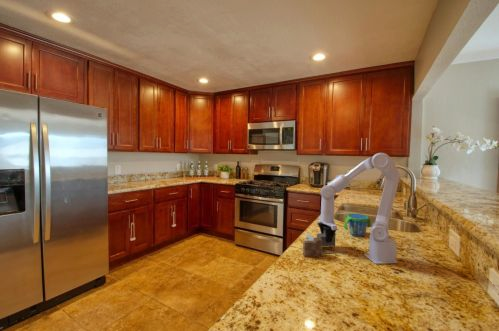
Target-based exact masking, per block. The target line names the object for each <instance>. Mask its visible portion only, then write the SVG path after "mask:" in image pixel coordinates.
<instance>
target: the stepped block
mask: <svg viewBox="0 0 499 331" xmlns="http://www.w3.org/2000/svg"><path fill="white" fill-rule="evenodd" d="M316 238H320V239H321V240H322V247H335V246H336V232H335V233H334V235H333V238H332V242H326V235H325V230H323V234H321V233H317V234H316Z"/></svg>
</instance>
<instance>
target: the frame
mask: <svg viewBox="0 0 499 331" xmlns="http://www.w3.org/2000/svg"><path fill="white" fill-rule="evenodd" d="M313 238H314V241H306V240H302V256H303V257H307V258H308V257H315V258H316V257H323V255H325V254H326V255H327V254H345V253H347V254H349V251H348V250H347V251H344V250H342V251H323V246H322V240H321V239H320V238H317V237H313Z"/></svg>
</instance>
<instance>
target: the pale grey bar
mask: <svg viewBox="0 0 499 331" xmlns="http://www.w3.org/2000/svg"><path fill="white" fill-rule="evenodd" d="M305 235H306V236H305V241H314V238H315V237H313V236H312V235H311V234H310V233H306V234H305Z"/></svg>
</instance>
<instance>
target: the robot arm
mask: <svg viewBox="0 0 499 331" xmlns="http://www.w3.org/2000/svg"><path fill="white" fill-rule="evenodd" d="M373 169H377V170H378V171H380V172H381V173H382V175H384V177H385V182H384V185H383V190H382V193H381V198H380V202H379V206H378V209H377V214H376V217H375V220H374V221H372V223H371V227H370V234H369V237H368V238H369V241H368V242H369V243H368V253H364V254H363V256H365V257H366V258H368V259H369V260H370V261H371V262H372V263H374V264H375V265H383V264H384V265H385V264H398V261H397V248H398V246H397V243H396V241H395V239H393V238H392V237H389V234H390V232H389V230H390V227H389V223H390V218H391V213H392V210H393V206H394V203H395V197H396V194H397V190H398V187H399V186H398V185H399V183H400V182H399V181H400V178H401V173H400V171H399V169H398V167H397V166H396V164H395V162H394V160H393V159H392V158H391V156H389V155H388V154H387V153H385V152H378V153H375V154H374V155H373V156H370V157H368V158H366V159H365V160H363V161H361V162H360V163H359V164H357V165H356V166H354V167H353V168H352V169H351V170H349V172H347V173H346V174H340V175H339V174H337V175H335V178H333V179H332V180H331V181H328V182H327V183H326V184H327V185H323V187H321V189H320V196H321V202H320V203H321V206H320V215H319V216H318V221H317V225H318V227H319V231H320V234H323V230H325V235H326V242H332V238H333V235H334V233H336V232H337V231H338V225H337V224H336V222H335V195H336V194H338V193H340V192H341V191H343V190H344V189H346V188H347V187H348V186H349V185H350V184H351V180H353V179H355V177H358V176H359V175H360V174H362V173H363V172H365V171H366V170H367V171H368V170H373Z"/></svg>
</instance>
